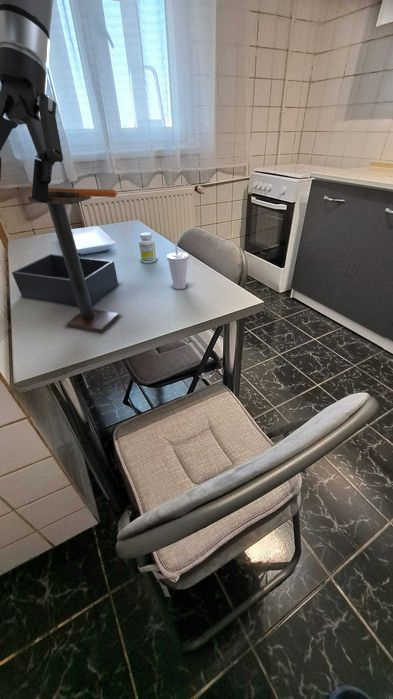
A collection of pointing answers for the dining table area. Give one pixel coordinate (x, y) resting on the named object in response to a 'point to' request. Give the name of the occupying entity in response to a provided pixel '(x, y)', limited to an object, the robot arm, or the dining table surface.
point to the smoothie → (178, 267)
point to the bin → (64, 279)
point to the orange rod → (85, 191)
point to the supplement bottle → (147, 248)
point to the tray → (91, 240)
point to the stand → (75, 263)
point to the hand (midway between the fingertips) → (14, 196)
